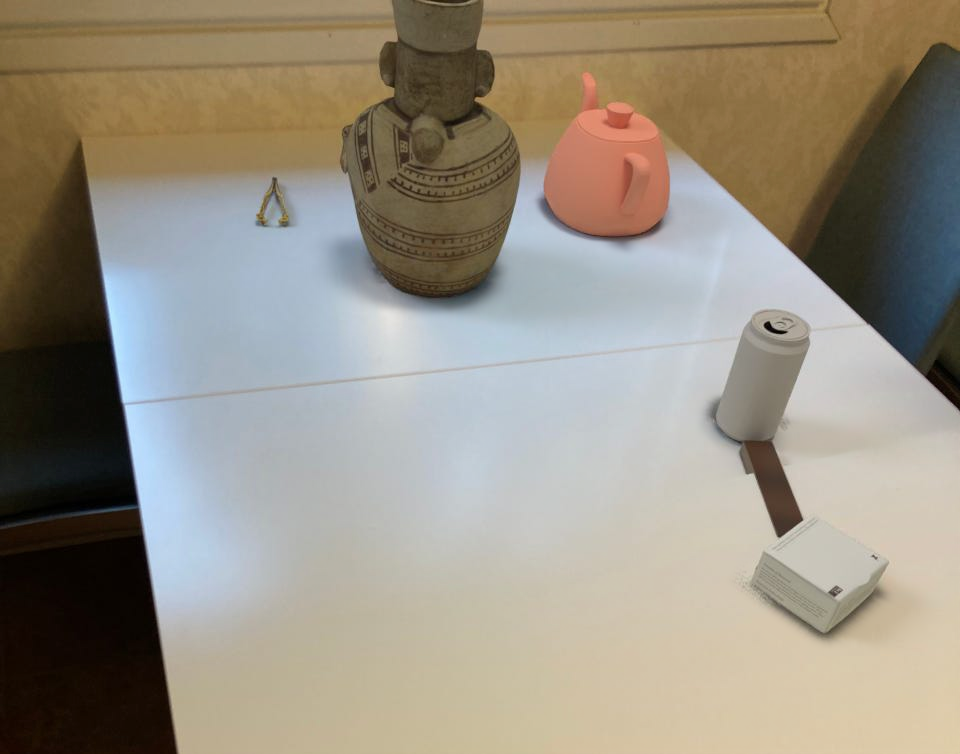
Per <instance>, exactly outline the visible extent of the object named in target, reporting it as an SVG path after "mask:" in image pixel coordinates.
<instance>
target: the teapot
mask: <svg viewBox="0 0 960 754" xmlns="http://www.w3.org/2000/svg"><path fill="white" fill-rule="evenodd" d="M581 82H582V98H581V99H582V100H581V104H580V109H579V113H578V115H576V117H575V118H574V119H573V120H572V122H571V123H570V124H569V126H568V127H567V128H566V130H565V132H564V133H563V135H562V136H561V138H560V139H559V141H558V143H557V144H556V146H555V148H554V149H553V152H552V153H551V157H550V158H549V162H548V164H547V168H546V171H545V174H544V179H543V186H542V187H543V193H544V198H545V200H546V201H547V204H548V205H549V208H550V209H551V211H552V212H553V214H554V216H555V218H557V219H558V220H559V221H560V222H561V223H563V224H565V225H566V226H568V227H569V228H571V229H572V230H575V231H577V232H580V233H583V234H587V235H592V236H598V237H599V236H601V237H627V236H634V235H640V234H642V232H643V233H646V232H647V231H649V230H650V229H652V227H654V226H655V225H656V224H657V223H659V221H661V219H663V217H664V216H665V215H666V213H667V210H668V208H669V202H670V194H671V192H670V191H671V175H670V174H671V173H670V167H669V162H668V157H667V154H666V149H665V145H664V142H663V139H662V136H661V133H660V131H659V129H658V127H657V126H656V124H655V123H654V122H653V121H652V120H650V119H649V118H647V117H646V116H644V115H642V114H640V113H637V112H635V107H633V106H632V105H630V104H629V103H625V102H618V101H616V102H610V103H608V104H607V105H606V108H599V107H600V106H599V97H598V88H597V87H598V86H597V83H596V80H595V78H594V76H593V75H592V74H591V73H590V72H587V71H585V72H582V75H581Z"/></svg>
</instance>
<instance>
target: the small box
mask: <svg viewBox="0 0 960 754" xmlns="http://www.w3.org/2000/svg"><path fill="white" fill-rule="evenodd" d="M889 563H890V561H889V560H888V559H887V558H886V557H885V556H883V555H881V554H880V553H878V552H877V551H875V550H873V549H872V548H871V547H870V546H867V545H866V544H864V543H862V542H860V540H857V539H856V538H854V537H852V536H850V535H849V534H847V533H846V532H844V531H843V530H841V529H839V528H837V527H836V526H834V525H833V524H831V523H829V522H828V521H826V520H825V519H823V518H821V517H820V516H818V515H816V514H815V513H811V514H810V515H808V516H807V517H806V518H803V521H802V522H800V523H799V524H798V525H796V526H795V527H794V528H793V529H791V530H790V531H789V532H787V533H786V534H785V535H783V536H782V537H781V538H777V540H775V541H774V542H773V543H772V544H770V545H769V546H768V547H766V548H765V549H764V550H763V551H762V552H761V556H760V558H759V561H758V563H757V565H756V567H755V569H754V573H753V574H752V578H751V580H750V582H749V583H750V584H751V585H752V586H753V587H755V588H756V589H758V590H759V591H760V592H762V593H763V594H765V595H766V596H767V597H769V598H770V599H771V600H773V601H774V602H776V603H777V604H779V605H780V606H782V607H783V608H784V609H786V610H787V611H789V612H791V614H793V615H795V616H796V617H798V618H799V619H800V620H802V621H803V622H805V623H807V624H808V625H810V627H813V628H814V629H815V630H818V631H819V632H821V633H822V634H827V633H828V632H829V631H830V630H832V629H834V628H835V627H836V626H837V625H838V624H839V623H840V622H842V621H843V620H844V619H845V618H846V617H848V616H849V615H850V614H851V613H852V612H853V611H854V610H856V609H857V608H858V607H859V606H860V605H861V604H862V603H863V602H864V601H865V600H867V599H868V598H869V597H870V596H871V595H872V594H873V592H874V590H875V589H876V587H877V585H878V583H879V581H880V580H881V578H882V576H883V574H884V573H885V571H886V570H887V567H888V566H889Z"/></svg>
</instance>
